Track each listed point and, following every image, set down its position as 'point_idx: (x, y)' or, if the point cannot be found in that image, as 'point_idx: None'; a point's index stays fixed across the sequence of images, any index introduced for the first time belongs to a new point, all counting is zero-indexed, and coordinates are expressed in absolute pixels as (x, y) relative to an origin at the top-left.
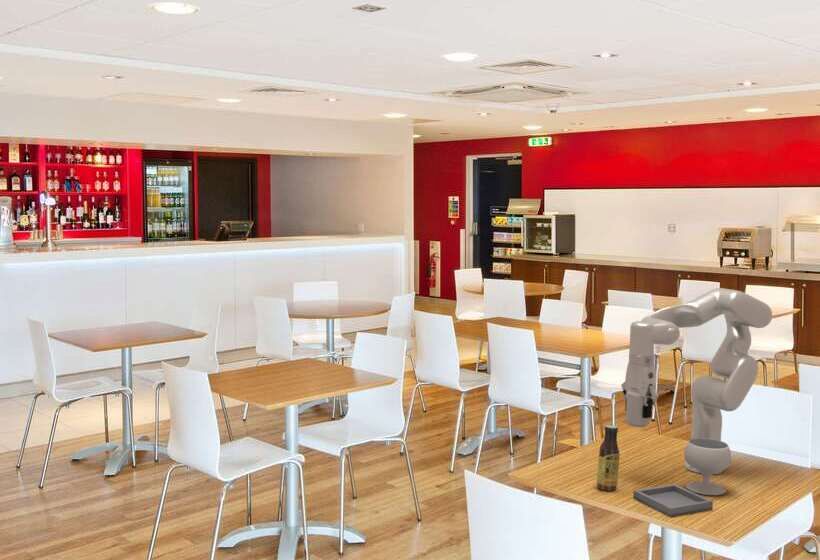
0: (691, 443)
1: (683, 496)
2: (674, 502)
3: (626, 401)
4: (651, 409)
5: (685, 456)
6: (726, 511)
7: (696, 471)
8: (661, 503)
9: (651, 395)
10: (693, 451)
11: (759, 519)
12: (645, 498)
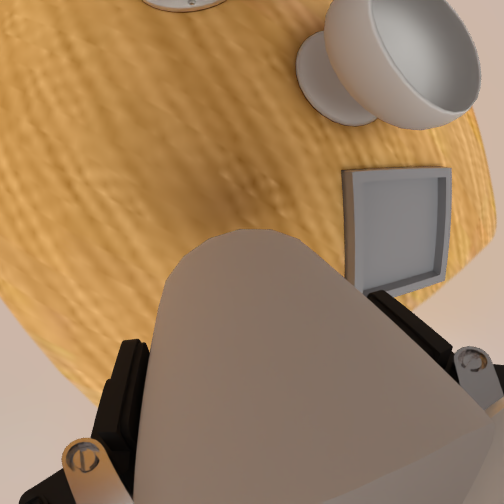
0: (357, 39)
1: (388, 183)
2: (407, 231)
3: None
4: (422, 325)
5: (386, 119)
6: (448, 145)
7: (215, 4)
8: (425, 285)
9: (499, 413)
10: (439, 124)
11: (476, 122)
12: None
